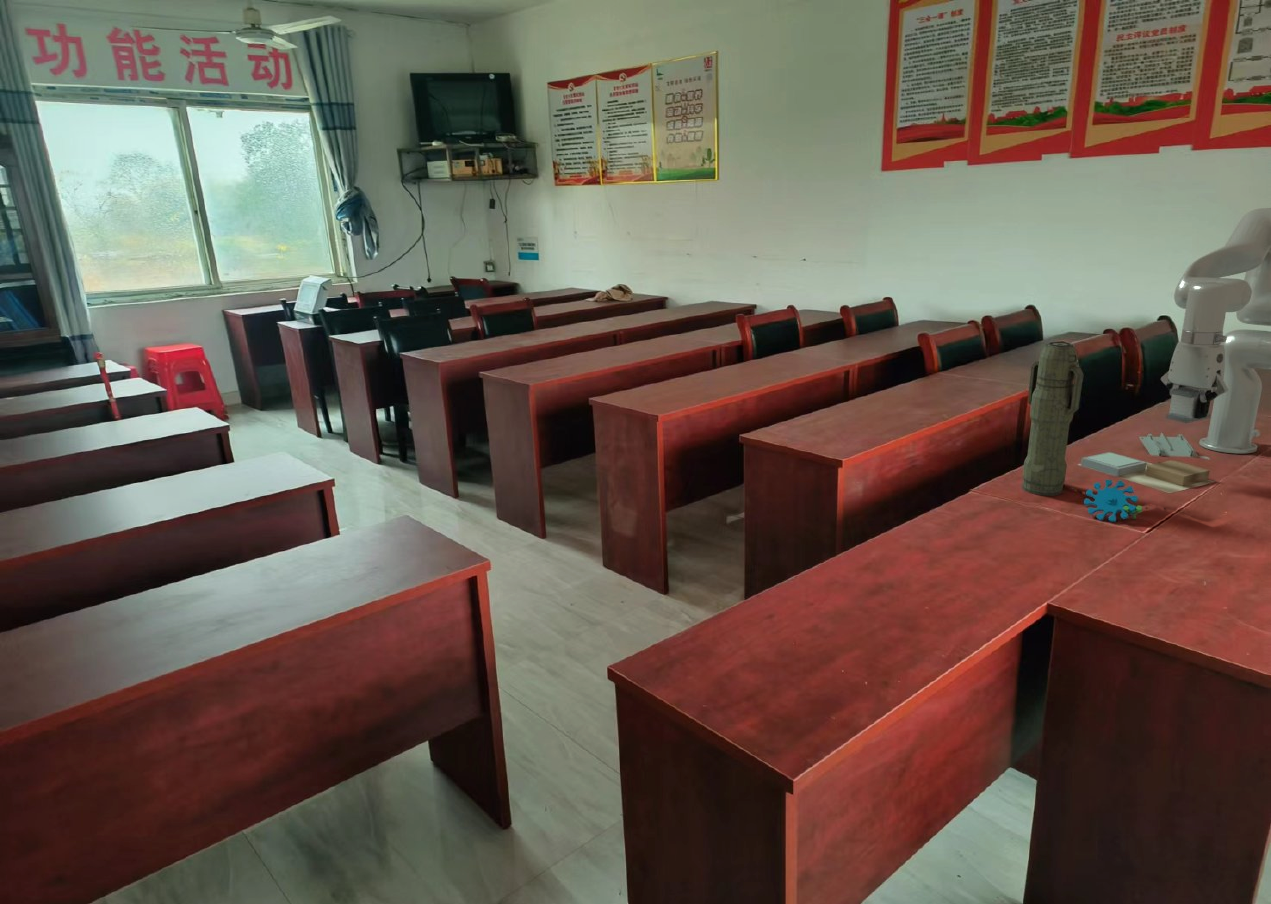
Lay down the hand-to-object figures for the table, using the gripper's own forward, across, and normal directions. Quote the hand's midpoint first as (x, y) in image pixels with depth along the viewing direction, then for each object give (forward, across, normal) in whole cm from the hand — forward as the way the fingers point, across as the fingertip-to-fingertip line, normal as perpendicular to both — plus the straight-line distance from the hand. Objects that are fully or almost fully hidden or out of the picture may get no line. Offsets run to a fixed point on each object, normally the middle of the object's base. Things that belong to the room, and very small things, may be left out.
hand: (1188, 414), depth 186 cm
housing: (+1, 0, 0) cm, 1 cm away
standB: (+16, +12, +7) cm, 21 cm away
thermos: (+16, +11, +32) cm, 37 cm away
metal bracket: (+18, +13, -16) cm, 28 cm away
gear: (+16, -8, +34) cm, 38 cm away
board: (+17, +6, +4) cm, 18 cm away
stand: (+16, 0, +1) cm, 16 cm away
